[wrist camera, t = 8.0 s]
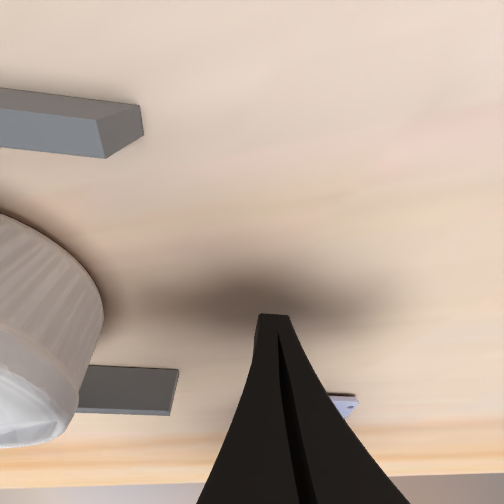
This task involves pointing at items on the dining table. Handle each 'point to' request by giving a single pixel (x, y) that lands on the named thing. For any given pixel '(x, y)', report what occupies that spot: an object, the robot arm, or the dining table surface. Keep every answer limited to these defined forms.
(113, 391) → the bay
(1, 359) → the ramekin
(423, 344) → the dining table surface
